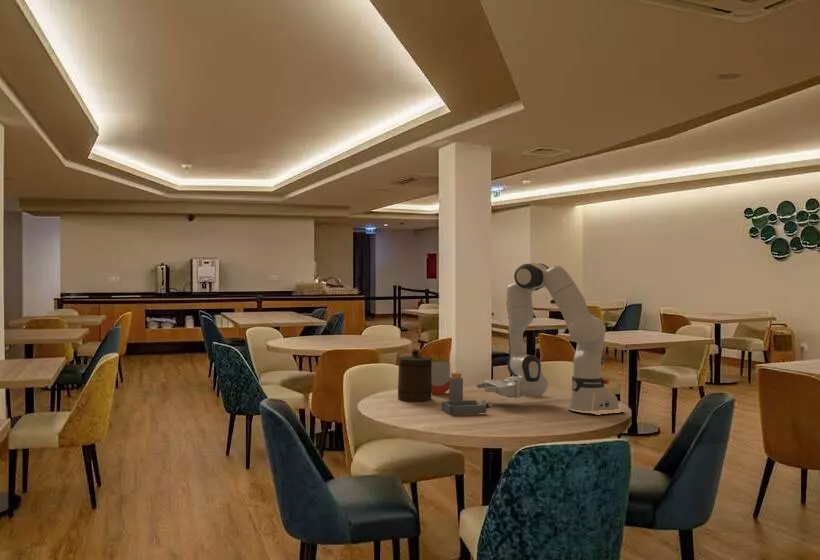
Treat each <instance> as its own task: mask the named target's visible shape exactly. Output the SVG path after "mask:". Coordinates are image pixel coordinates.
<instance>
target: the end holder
mask: <svg viewBox="0 0 820 560" xmlns="http://www.w3.org/2000/svg"><path fill="white" fill-rule="evenodd" d="M477 403H478V401H477V400H476V399H473V400H463V401H449V400H445V401H444V400H443V401H441V411H442V412H444V413H445V412H446V413H445V414H447V415H448V416H450V415H456V416H467V415H466V414H479V413H486V414H487V407H486V405H482V404H479V405H477Z"/></svg>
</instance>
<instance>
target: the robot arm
mask: <svg viewBox="0 0 820 560" xmlns="http://www.w3.org/2000/svg"><path fill="white" fill-rule="evenodd" d="M542 288H546V290H547V291H548V292H549V294H550V296H551V298H552V299H553V302H555V304H556V306H557V307H558V309H559V311H560V313H561V315H562V317H563V319H564V322H565V325H566V327H567V329H568V333H569V336H570V338H571V340H573V342H575V343H576V348H575V352H574V355H573V365H572V367H573V370H572V372H573V374H572V377H571V389H572V390H571V398H570V404H569V407H568V409H569V408H571V409H574V410H581V411H599V410H614V409H619V408H620V406H619V401H618V397H617V396H616V395H615V394H613V393H612V392H611V390H610V389H608V388H606V387H605V385H610V380H609V379H607V378H602V357H603V356H602V355H603V350H604V344H605V337H606V336H605V334H606V331H607V330H606V329H607V328H606V324H605V323H604V321H603V320H602V319H601V318H599V317H596V316H594V315H593V316H592V315H591V313H590V310H589V308H588V305H587V302H586V299H585V297H584V295H583V294H582V292H581V291H580V289H579V287H578V285H577V284H576V282H575V281H574V279H573V278H572V276H570V274H569V273H568V272H567V271H566V270H565V269H564V267H562V266H561V265H553V266H551V267H549V266H547V265H546V264H544V263H535V262H530V263H523V264H521V265H519V266H518V267H517V268H516V269H515V272H514V281H513V282H511V283H510V284H508V285H507V287H506V308H507V309H506V310H507V318H508V330H507V331H508V346H509V347H508V348H509V351H508V352H509V355H508V360H507V365H506V366H507V370H508V371H509V373H510V375H513V376H515V377H512V376H506V377H505V378H504V379H502V380H500V379H484V380H483V381H482V382H480V383H476V388H477V389H484V391H485V392H487V393H495V394H497V395H499V396H502V397H507V398H515V399H516V398H517V399H518V398H520V397H526V398H527V397H529V398H532V397H538V396H542V395H545V393H546V392H547V390H548V380H547V378H546V377H545V375H544V374H543V373H544V372H543V370H542V364H541V360H540V359H539V358H538V357H537V356H535V355H531V354H525V350H524V332H525V330H526V329H527V327H529V326H530V325H531V323H532V322H533V320H534V306H533V300H532V299H533V298H532V295H533V292H535V291H538V290H540V289H542Z"/></svg>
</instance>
